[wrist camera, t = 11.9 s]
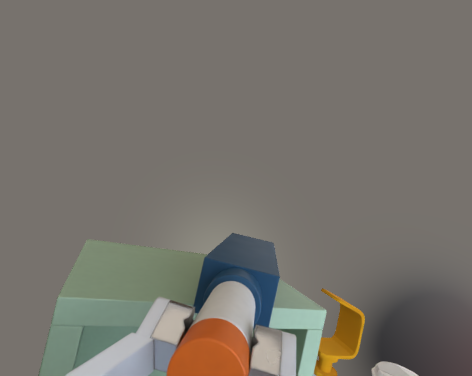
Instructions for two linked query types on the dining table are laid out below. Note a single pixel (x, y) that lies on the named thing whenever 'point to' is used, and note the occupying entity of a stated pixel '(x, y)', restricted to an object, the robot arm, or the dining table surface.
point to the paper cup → (391, 370)
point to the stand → (149, 304)
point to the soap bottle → (340, 338)
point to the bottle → (228, 308)
